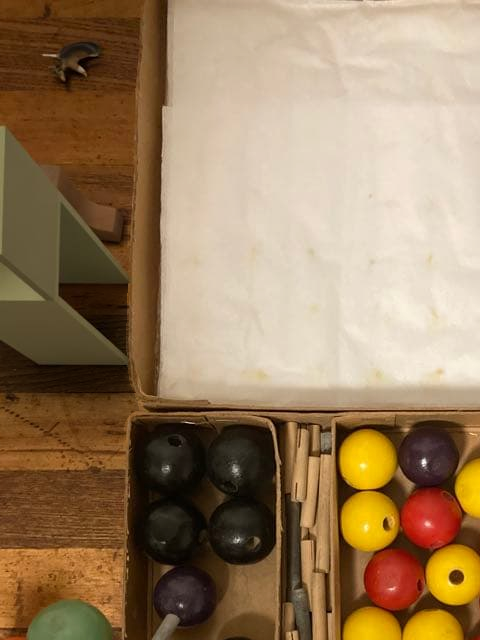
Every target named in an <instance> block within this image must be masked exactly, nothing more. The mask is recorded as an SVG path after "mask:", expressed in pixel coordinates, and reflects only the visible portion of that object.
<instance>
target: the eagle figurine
mask: <svg viewBox="0 0 480 640" xmlns="http://www.w3.org/2000/svg"><path fill="white" fill-rule="evenodd" d="M100 49H101V45H100V44H98V42H95V41H91V40H79V41H75V42H72V43H68V44H66V45H64V46H63V47H61V49H60V51H59V53H57V54H56V53H54V54H49V53H48V54H43V53H42V55H41V56H42V57H45V58H51V59H53V60H56V61H58V62H59V65H58V68H57V67H56V65H49V66H48V67H47V69H51V70H50V71H51V72H52V73H53V74H55V75H57V76H58V78H59V79H60V81H63V82H66V72H67V71H68V69H70V70H73V71H74V72H78V73H80V74H82V75H83V76H84V77H85V78H86V77H88V74H87V72H86V70H85V68H83V67H82V66H81V65H80V64H78V63H79V61H80V60H81V59H82V60H83V59H84V58H88V57H99V53H100Z"/></svg>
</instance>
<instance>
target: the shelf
mask: <svg viewBox="0 0 480 640" xmlns="http://www.w3.org/2000/svg"><path fill="white" fill-rule="evenodd" d="M36 163H37V162H36V161H35V160H34V159H33V157H32V156H31V155H30V154H29V152H28V151H27V150H26V149H25V148H24V146H22V144H21V143H20V141H19V140H18V139H17V138H16V137H15V136H14V135H13V133H12V132H11V131H10V129H8V127H7V126H6V125H0V341H1V342H3V343H5V344H6V345H8V346H9V347H11V348H12V349H14V350H15V351H17V352H19V353H20V354H22V355H23V356H24V357H26V358H28V359H29V360H31V361H32V362H35V363H36V364H38V365H61V366H63V365H66V366H67V365H69V366H70V365H71V366H72V365H75V366H76V365H78V366H79V365H81V366H82V365H83V366H84V365H85V366H86V365H87V366H89V365H91V366H94V365H97V366H103V365H105V366H121V365H122V366H128V365H129V364H130V358H129V357H128V356H127V355H126V354H124V353H123V351H122V350H120V349H119V348H118V347H116V345H115V344H113V342H112V341H110V340H109V339H107V337H106V336H104V335H103V334H102V333H101V332H100V331H99V330H98V329H97V328H95V327H94V326H93V325H92V324H91V323H90V322H89V321H88V320H86V319H85V318H84V317H83V316H82V315H81V314H79V312H78V311H76V310H75V309H74V308H73V307H72V306H71V305H69V304H68V302H66V301H65V300H64V299H63V298H62V297H61V296H60V295H59V284H131V278H130V277H131V276H130V275H129V273H128V272H127V271H126V270H125V269H124V267H123V266H122V265H121V264H120V262H119V261H118V260H117V258H115V257H114V256H113V254H112V253H111V252H110V250H108V248H107V247H106V245H104V243H103V242H102V240H99V239H98V237H97V236H96V235H95V234H94V233H93V231H92V230H91V229H90V228H89V226H88V225H87V224H86V223H85V222H84V220H83V219H82V218H81V217H80V216H79V214H78V213H77V212H76V211H75V210H74V208H73V207H72V206H71V205H70V204H69V202H68V201H67V200H66V199H65V198H64V196H63V195H62V194H61V193H60V192H59V190H58V189H57V188H56V187H55V185H54V184H53V183H52V182H51V181H50V179H49V178H48V177H47V176H46V174H45V173H44V172H43V171H42V170H41V168H40V167H39V166H38V165H37V164H36Z"/></svg>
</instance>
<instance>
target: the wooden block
mask: <svg viewBox="0 0 480 640" xmlns="http://www.w3.org/2000/svg"><path fill="white" fill-rule="evenodd" d="M36 164H37V165H38V166H39V167H40V168H41V170H42V171H43V172H44V173H45V174H46V176H47V177H48V178H49V179H50V181H51V182H52V183H53V184H54V185H55V187H56V188H57V189H58V190H59V192H60V193H61V194H62V195H63V196H64V198H65V199H66V200H67V201H68V202H69V204H70V205H71V206H72V207H73V208H74V210H75V211H76V212H77V213H78V214H79V216H80V217H81V218H82V219H83V220H84V222H85V223H86V224H87V225H88V226H89V228H90V229H91V230H92V231H93V233H94V234H95V235H96V236H97V237H98V239H99V240H100V241H108V242H116V243H120V242H121V240H122V235H123V227H124V222H125V221H124V217H123V216H122V215H121V213H120V212H119V210H118V209H117V208H116V207H111V206H106V205H101V204H98V203H96V202H93V201H91V200H90V199H89V198H88V197H85V196H84V195H83V193H82V192H81V190H80V189H79V188H78V187H77V186H76V185H75V183H74V182H73V181H72V179H71V178H70V176H68V174H67V173H66V171H65V170H64V169H63V167H61V165H54V164H47V163H40V162H36Z"/></svg>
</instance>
